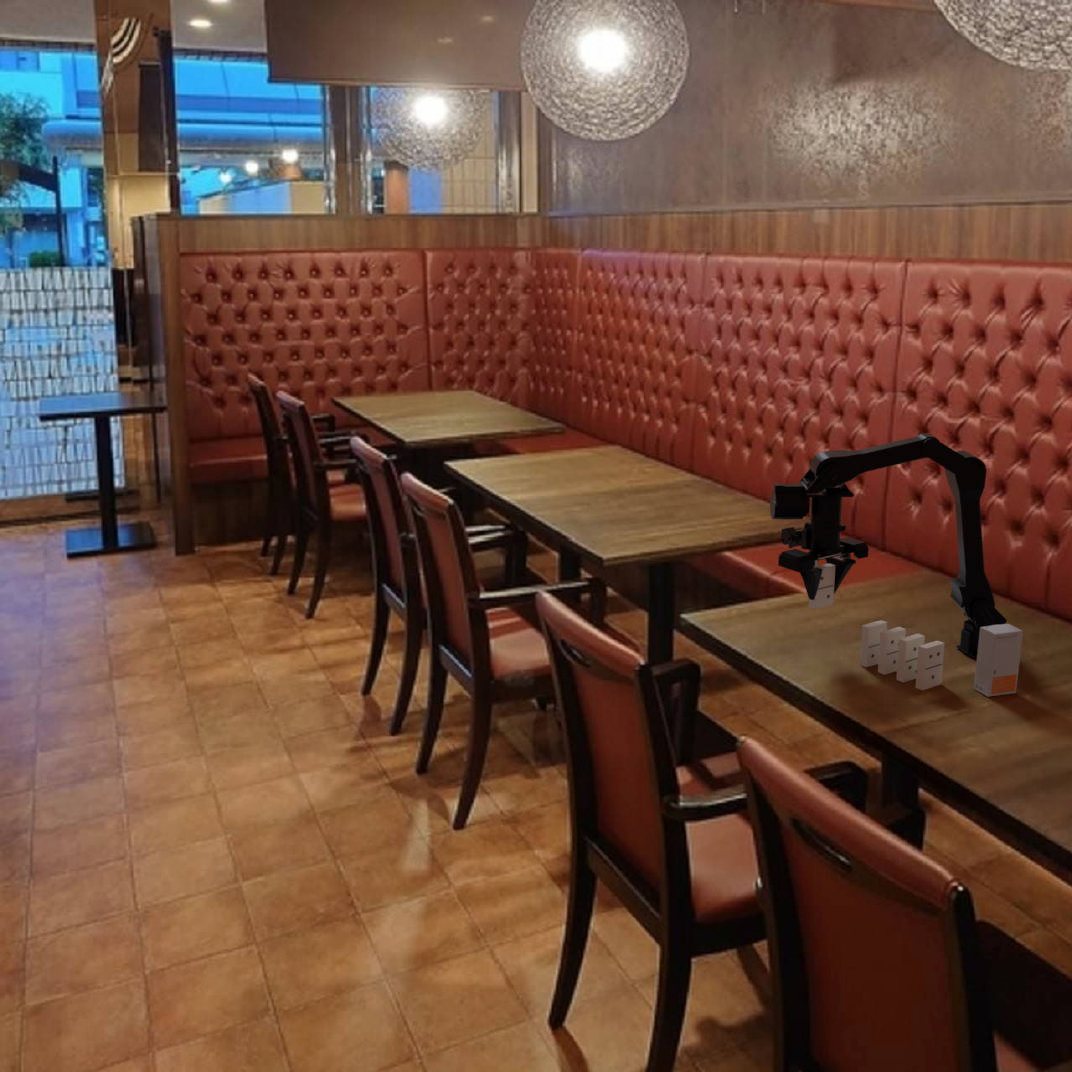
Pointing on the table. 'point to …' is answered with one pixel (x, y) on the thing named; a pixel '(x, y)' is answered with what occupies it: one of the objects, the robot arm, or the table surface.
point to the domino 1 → (824, 588)
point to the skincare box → (998, 659)
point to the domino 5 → (929, 665)
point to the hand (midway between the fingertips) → (821, 596)
